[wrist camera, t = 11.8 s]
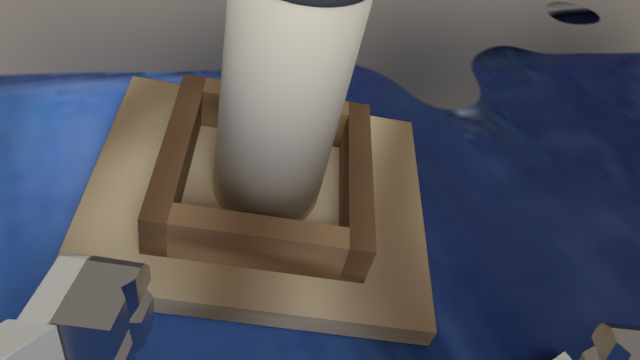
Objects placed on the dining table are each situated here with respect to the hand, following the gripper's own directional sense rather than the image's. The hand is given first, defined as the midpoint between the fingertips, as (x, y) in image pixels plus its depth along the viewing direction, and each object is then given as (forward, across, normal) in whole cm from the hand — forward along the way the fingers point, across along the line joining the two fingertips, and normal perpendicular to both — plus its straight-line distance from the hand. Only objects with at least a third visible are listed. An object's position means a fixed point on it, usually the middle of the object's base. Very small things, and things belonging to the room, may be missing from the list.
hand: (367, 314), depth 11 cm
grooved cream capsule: (+13, +4, +7) cm, 15 cm away
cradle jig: (+13, +4, +8) cm, 16 cm away
